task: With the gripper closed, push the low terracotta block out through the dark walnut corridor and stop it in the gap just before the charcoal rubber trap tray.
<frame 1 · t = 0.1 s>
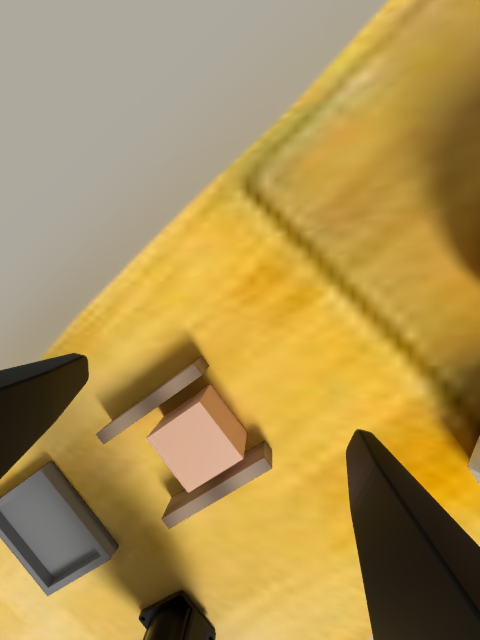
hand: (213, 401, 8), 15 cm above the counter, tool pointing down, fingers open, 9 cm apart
block: (205, 423, 26), on the counter
corridor rails: (189, 435, 26), on the counter
trap tray: (54, 523, 29), on the counter
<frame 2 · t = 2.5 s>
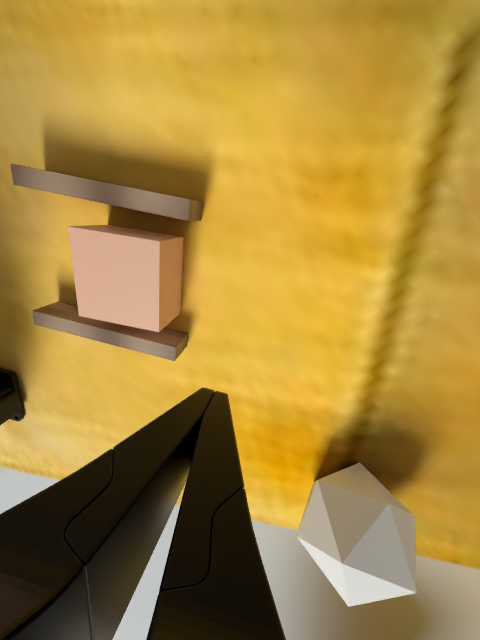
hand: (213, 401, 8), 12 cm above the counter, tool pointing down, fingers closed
block: (146, 270, 20), on the counter
corridor rails: (121, 265, 20), on the counter
die: (344, 480, 25), on the counter
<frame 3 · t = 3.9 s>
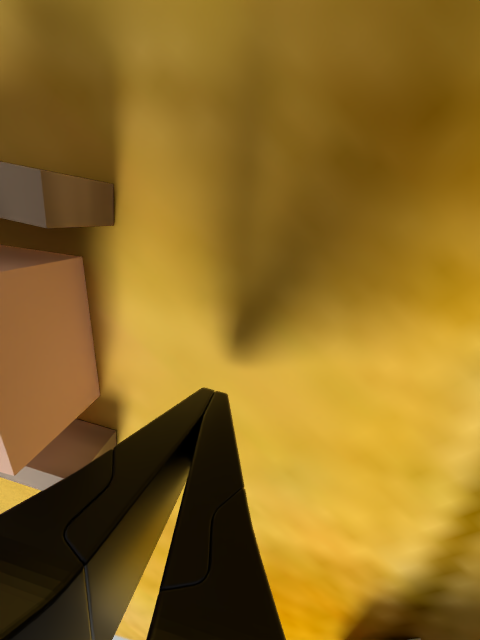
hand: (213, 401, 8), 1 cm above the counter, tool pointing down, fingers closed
block: (29, 319, 11), on the counter
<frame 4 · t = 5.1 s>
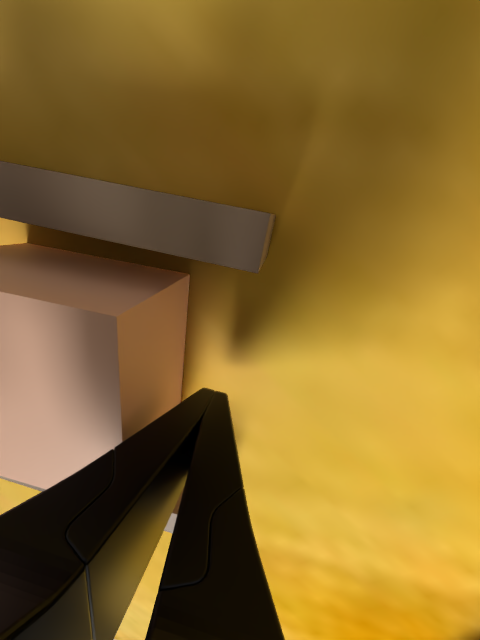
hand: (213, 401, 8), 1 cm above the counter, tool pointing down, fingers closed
block: (111, 335, 10), on the counter, touching gripper
corridor rails: (92, 340, 10), on the counter
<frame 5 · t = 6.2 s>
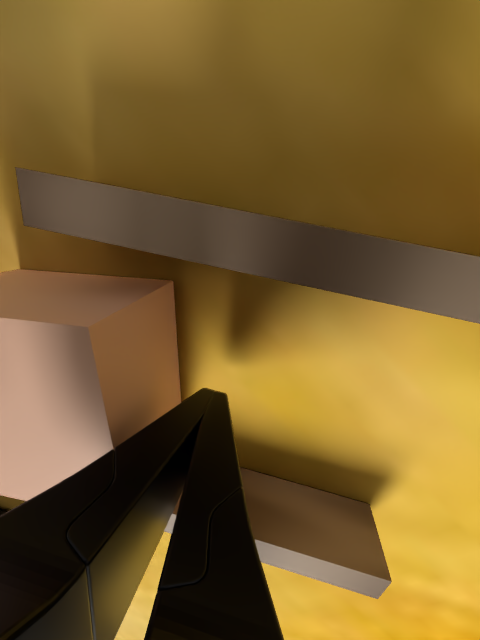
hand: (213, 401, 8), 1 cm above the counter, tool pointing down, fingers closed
block: (106, 349, 10), on the counter, touching gripper
corridor rails: (250, 381, 10), on the counter
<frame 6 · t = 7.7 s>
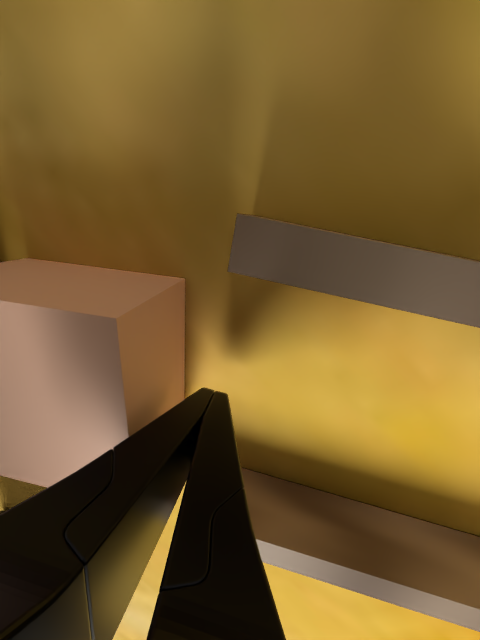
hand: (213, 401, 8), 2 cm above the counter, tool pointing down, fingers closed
block: (115, 341, 10), on the counter
corridor rails: (383, 417, 9), on the counter
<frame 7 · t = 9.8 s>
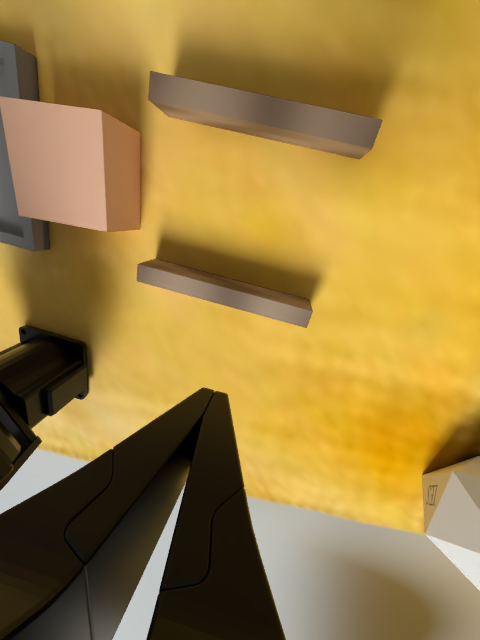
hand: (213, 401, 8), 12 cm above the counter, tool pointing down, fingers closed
block: (102, 178, 18), on the counter
corridor rails: (244, 215, 17), on the counter
die: (458, 473, 22), on the counter
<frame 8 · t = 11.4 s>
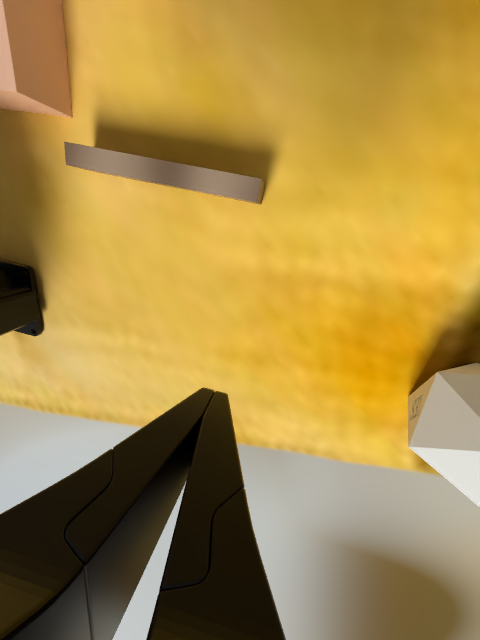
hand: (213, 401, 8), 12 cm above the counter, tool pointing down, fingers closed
block: (26, 56, 16), on the counter
corridor rails: (183, 81, 15), on the counter
die: (449, 392, 20), on the counter
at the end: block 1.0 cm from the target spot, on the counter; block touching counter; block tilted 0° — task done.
